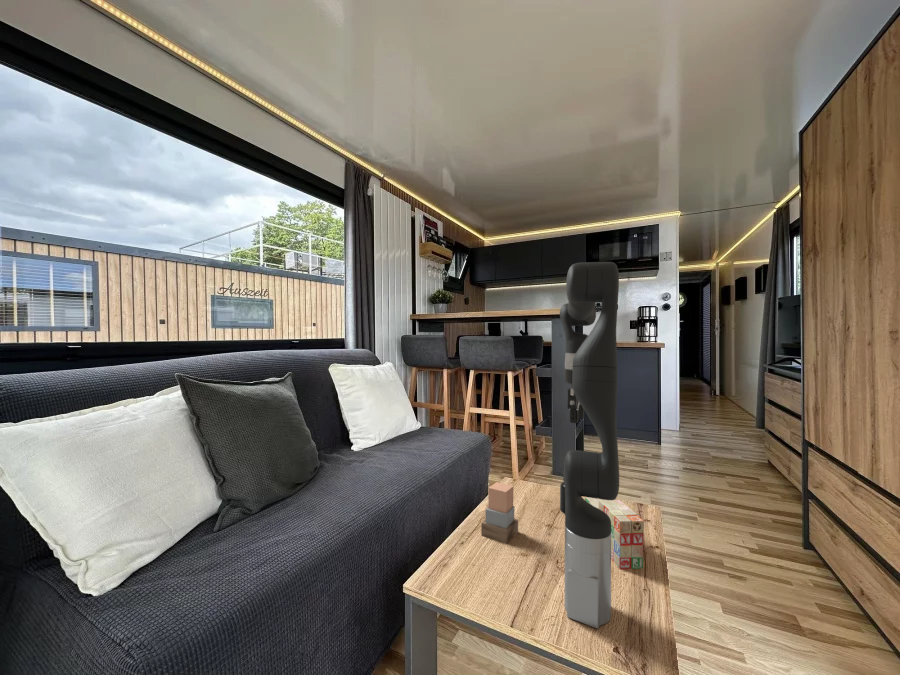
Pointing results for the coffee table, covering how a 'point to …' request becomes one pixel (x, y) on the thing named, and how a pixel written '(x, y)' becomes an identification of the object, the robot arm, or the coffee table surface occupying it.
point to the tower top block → (499, 518)
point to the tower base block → (499, 531)
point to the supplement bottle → (562, 496)
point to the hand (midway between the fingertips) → (577, 420)
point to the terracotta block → (500, 497)
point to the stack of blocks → (623, 533)
